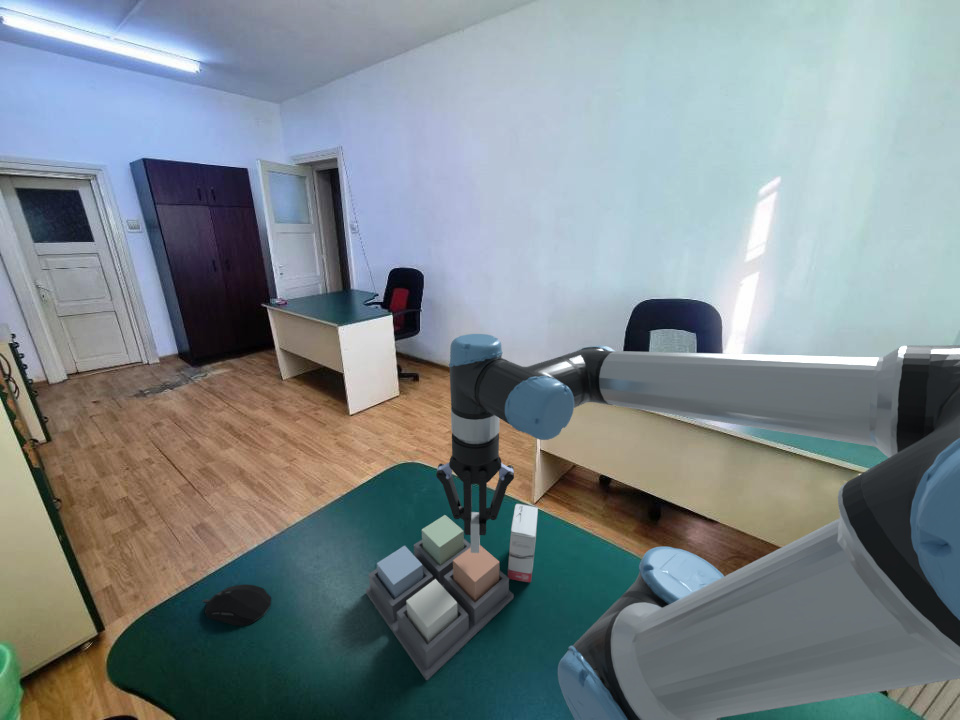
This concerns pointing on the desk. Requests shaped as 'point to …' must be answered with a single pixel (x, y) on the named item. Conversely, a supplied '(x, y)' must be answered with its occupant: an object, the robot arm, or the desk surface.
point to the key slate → (399, 572)
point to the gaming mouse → (238, 605)
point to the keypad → (456, 633)
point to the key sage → (442, 540)
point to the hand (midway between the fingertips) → (475, 546)
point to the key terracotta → (476, 572)
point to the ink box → (522, 542)
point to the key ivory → (431, 610)
